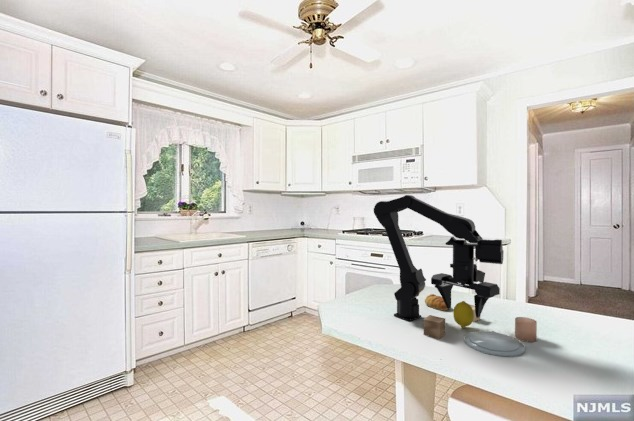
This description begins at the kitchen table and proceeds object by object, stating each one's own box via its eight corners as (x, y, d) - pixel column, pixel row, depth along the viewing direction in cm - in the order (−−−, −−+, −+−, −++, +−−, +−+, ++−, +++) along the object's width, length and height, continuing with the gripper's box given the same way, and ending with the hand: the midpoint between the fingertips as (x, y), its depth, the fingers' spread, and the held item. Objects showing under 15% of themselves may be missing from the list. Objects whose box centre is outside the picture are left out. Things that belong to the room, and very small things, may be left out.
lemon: (475, 332, 94) (475, 304, 94) (455, 330, 95) (455, 303, 95) (470, 325, 99) (470, 298, 99) (451, 323, 101) (451, 298, 100)
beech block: (455, 316, 107) (455, 304, 107) (463, 314, 109) (463, 302, 109) (472, 322, 102) (472, 309, 102) (480, 319, 104) (480, 307, 104)
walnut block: (423, 334, 93) (423, 319, 93) (429, 330, 96) (429, 315, 96) (439, 339, 90) (439, 322, 90) (445, 334, 93) (445, 318, 93)
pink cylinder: (511, 337, 90) (511, 319, 90) (520, 333, 93) (520, 315, 93) (531, 343, 86) (531, 324, 86) (539, 339, 89) (540, 320, 89)
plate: (453, 341, 88) (453, 336, 88) (482, 329, 96) (482, 325, 96) (507, 362, 76) (508, 357, 76) (535, 346, 84) (535, 342, 84)
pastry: (455, 310, 114) (455, 299, 114) (439, 313, 112) (439, 301, 111) (437, 302, 123) (437, 292, 123) (422, 304, 120) (422, 294, 120)
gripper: (509, 262, 94) (509, 316, 94) (451, 254, 109) (451, 300, 110) (488, 266, 87) (488, 324, 88) (430, 257, 103) (429, 306, 103)
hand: (463, 312), depth 97 cm, fingers open, 9 cm apart
